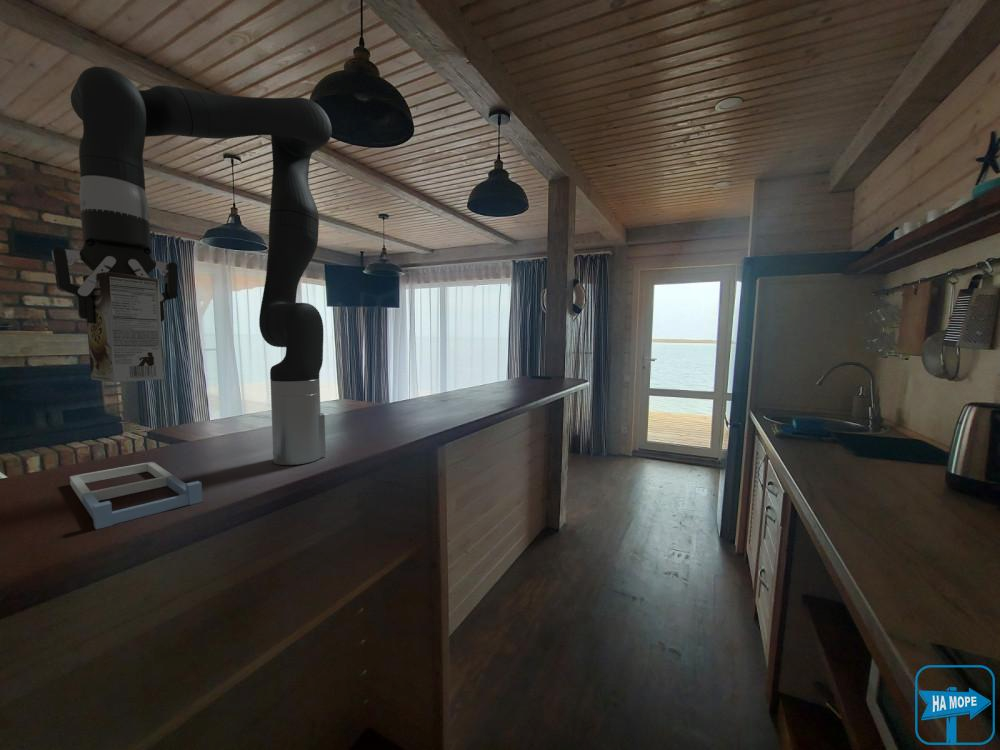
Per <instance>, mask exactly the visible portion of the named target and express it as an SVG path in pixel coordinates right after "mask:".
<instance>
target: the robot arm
mask: <svg viewBox="0 0 1000 750" xmlns="http://www.w3.org/2000/svg"><path fill="white" fill-rule="evenodd" d="M70 104H71V107H72V108H73V111H74V112H75V114H76V115H77V117H78V118H79V119H80V120H82V125H83V130H82V131H83V132H82V133H83V134H82V137H81V141H80V142H79V148H78V149H79V150H78V151H79V152H78V160H79V169H80V170H79V171H80V172H79V173H80V185H79V207H80V219H81V230H82V231H81V232H82V247H81V249H80V250H77V249H75V250H74V249H73V250H72V249H65V248H63V247H61V246H56V247H54V248H53V249H52V250H51V258H52V263H53V264H52V265H53V270H54V277H55V283H56V288H57V290H58V291H60V292H63V293H64V292H65V293H68V294H70V295H74V297H75V298H76V303H77V315H78V317H79V319H80V320H85V324H87V323H94V315H93V301H92V298H91V297H90V293H91V291H92V290H93V289H94V288H95V284H96V275H97V273H103V272H112V273H121V274H128V275H135V276H141V277H145V278H151V277H150V276H149V274H150V273H151V272H152V271H153V270H154V269H157V270H158V271H159V274H160V275H161V276H163V277H164V289H163V290H164V292H161V291H159V296H160V314H161V323H162V322H163V321H164V320H165V311H164V310H165V309H164V303H165V301H169V300H174V299H177V297H178V284H179V283H178V281H179V279H178V274H179V273H178V269H179V266H178V264H177V263H176V262H173V261H172V262H164V261H158V260H156V259H155V258H154V256H153V254H152V253H153V252H152V243H151V230H150V229H151V225H150V219H151V214H150V212H149V210H150V208H149V203H148V199H147V193H146V181H145V180H146V179H145V169H144V163H143V160H144V157H143V156H144V150H145V149H144V148H145V140H146V138H147V137H160V136H161V137H162V136H180V137H186V138H200V139H214V140H215V139H217V140H218V139H224V140H225V139H235V138H237V139H238V138H244V137H245V138H246V137H252V136H253V137H254V136H270V137H271V138H270V139H271V152H272V153H271V154H272V156H271V157H272V177H271V178H272V179H271V193H270V206H269V219H268V249H267V250H268V251H267V263H266V272H265V273H266V275H265V279H264V280H265V281H264V287H263V293H262V299H261V304H260V310H259V317H258V318H259V319H258V320H259V322H258V325H259V332H260V334H261V336H262V339H263V340H264V341H265V342H266V344H268V345H270V346H272V347H276V348H285V356H284V358H283V359H282V360H281V361H280V362H278V363H276V364H274V365H273V366H271V367H270V371H269V379H270V381H269V382H270V403H271V406H270V407H271V430H272V431H271V432H272V433H271V434H272V435H271V436H272V455H273V456H272V461H273V463H274V464H275V465H280V466H295V465H303V464H309V463H312V462H315V461H318V460H319V459H322V458H325V457H326V456H327V455H326V453H327V450H326V448H327V447H326V416H325V413H324V412H321V390H320V388H321V387H320V385H321V384H320V374H321V373H320V372H321V369H322V366H323V362H324V359H323V358H324V323H323V318H322V316H321V315H322V314H321V313H320V312H319V310H318V309H317V307H316V306H314V305H313V304H311V303H306V302H297V294H298V293H297V292H298V288H299V287H298V286H299V283H300V280H301V278H302V277H303V274H304V272H305V271H306V270H307V268H308V266H309V264H310V262H311V261H312V259H313V257H314V255H315V253H316V251H317V247H318V243H319V227H320V226H319V224H320V221H319V218H320V217H319V211H318V207H317V205H316V202H315V200H314V197H313V194H312V192H311V188H310V185H309V184H310V183H309V170H310V162H311V158H312V154H313V153H314V152H317V151H318V150H320V149H322V148H323V147H324V146H326V145H327V144H328V142H329V141H330V140H331V137H332V133H333V129H332V128H333V127H332V124H331V123H332V122H331V121H330V118H329V116H328V114H327V113H326V111H325V110H324V109H323V107H321V106H320V105H319V104H318V103H316V102H315V101H313V100H312V99H309V98H306V97H257V96H256V97H253V96H251V97H250V96H242V95H241V96H239V95H230V94H221V93H216V92H215V93H213V92H208V91H201V90H195V89H189V88H183V87H177V86H171V85H154V86H153V87H150V88H147V89H143V90H142V89H141V90H140V89H138V88H137V87H136V86H135V84H134V83H133V82H132V81H131V80H130V79H129V78H128V77H127V76H125V75H124V74H122V73H120V72H119V71H117V70H115V69H112V68H109V67H106V66H91V67H89V68H86V69H85V70H83V71H82V72H81V73H80V75H79V77H78V78H77V80H76V83H75V84H74V86H73V88H72V90H71V93H70ZM76 259H80V261H82V262H83V263H84V264H85V265H86V266H87V267H88V268H89V269H90V270H91V273H90V274H89V275H90V276H88V277H87V278H86V280H85V281H84V282H83V281H82V284H80V285H79V286H78V285H75V284H72V283H71V276H70V269H69V266H71V265H74V264H75V261H76Z"/></svg>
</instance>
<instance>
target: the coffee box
mask: <svg viewBox="0 0 1000 750" xmlns="http://www.w3.org/2000/svg"><path fill="white" fill-rule="evenodd" d="M88 276H90V274H88V275H83V276H82V279H83V280H82V283H83V282H84V281H85V280H86V278H87V277H88ZM159 282H160V279H158V278H153V277H152V278H151V277H150V278H145V277H141V276H135V275H128V274H121V273H112V272H103V273H97V275H96V284H95V288H94V289H93V290H92V291H91V293H90V297H91V298H92V301H93V315H94V323H86V329H87V340H88V352H89V353H88V354H89V355H88V356H89V366H90V376H91V378H90V379H91V380H95V381H101V382H107V383H109V382H110V383H127V382H129V383H130V382H143V381H144V382H145V381H146V382H147V381H160V380H161V381H162V380H164V378H165V377H164V361H163V360H164V358H163V340H162V338H163V337H162V334H163V333H162V322H161V314H160V296H159V292H160V284H159Z"/></svg>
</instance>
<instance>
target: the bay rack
mask: <svg viewBox="0 0 1000 750" xmlns="http://www.w3.org/2000/svg"><path fill="white" fill-rule="evenodd" d="M145 472H146V473H147V472H148V473H150V475H152V476H153V477H155V478H149V479H144V480H139V481H135V482H130V483H124V484H120V485H116V486H110V487H105V488H100V489H95V490H90V488H88V486H87V485H86V484H88V483H94V482H98V481H104V480H109V479H114V478H121V477H124V476H130V475H136V474H141V473H145ZM69 485H70V487H71V488H72V490H73V491H74V493H75V494H76V496H77V497H78V499H79V501H80V502H81V503H82V505H83V507H84V508H85V509H86V511H87V512H88V514H89V515H90V517H91V518H92V521H93V528H95V530H100V529H103V528H108V527H111V526H113V525H116V524H121V523H124V522H128V521H132V520H136V519H138V518H139V519H140V518H142V517H143V518H144V517H147V516H151V515H154V514H158V513H162V512H166V511H171V510H173V509H177V508H182V507H186V506H191V505H195V504H199V503H203V485H202V482H201V481H199V480H196V481H191V482H188V483H185V482H184V481H183V480H181V479H180V478H178V477H176V476H175V475H173V474H172V473H170V472H169V471H167V470H166V469H164V468H163V467H161V466H160V465H159V464H157V463H156V462H154V461H147V462H143V463H137V464H131V465H127V466H120V467H113V468H109V469H104V470H103V469H102V470H97V471H92V472H86V473H81V474H75V475H70V476H69ZM164 487H168V488H169V489H171V490H172V491H174V492H175V494H177V495H175V496H171V497H167V498H163V499H159V500H155V501H150V502H147V503H143V504H138V505H133V506H130V507H126V508H122V509H117V510H116V509H115V510H113V509H112V508H113V506H112V505H113V504H112V502H111V501H110V499H114V498H118V497H122V496H127V495H130V494H131V495H132V494H136V493H141V492H145V491H150V490H155V489H159V488H164ZM104 500H105V501H104ZM100 501H102V502H100Z"/></svg>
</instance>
